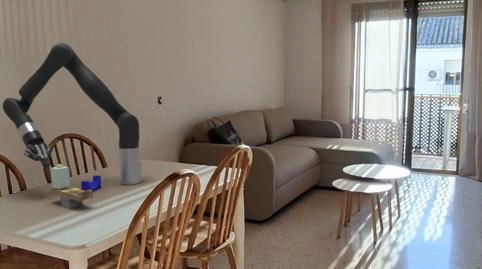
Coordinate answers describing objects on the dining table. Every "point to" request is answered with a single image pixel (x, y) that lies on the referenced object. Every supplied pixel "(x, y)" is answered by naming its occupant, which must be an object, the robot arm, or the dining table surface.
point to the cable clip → (92, 184)
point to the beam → (72, 196)
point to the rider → (60, 177)
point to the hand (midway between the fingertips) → (47, 166)
